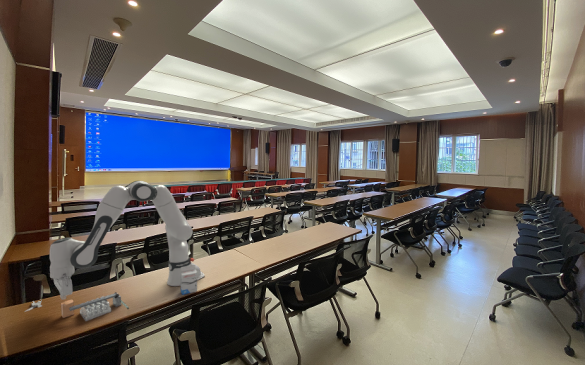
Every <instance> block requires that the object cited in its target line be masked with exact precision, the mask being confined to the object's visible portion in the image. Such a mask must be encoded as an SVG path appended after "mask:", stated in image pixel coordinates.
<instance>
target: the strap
mask: <svg viewBox="0 0 585 365" xmlns="http://www.w3.org/2000/svg"><path fill="white" fill-rule="evenodd" d="M119 295H120V294H119V293H118V292H116V291H115V292H114V293H112V294H108V295H105V296H103V297H102V296H100V297H97V298H98V299H96V298H95V299H91V300H92V301H91V300H87V301H88V302H87V301H86V302H82V304H81V303H80V304H74V306H72V307H69V310H70V311H72V310H74V311H75V310H78V309H81V307H85V306H86V307H87V306H88V305H92V304H94V303H97V302H100V301H104V300H107V301H108V300H109V299H113V297H116V296H117V297H119Z"/></svg>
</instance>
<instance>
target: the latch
mask: <svg viewBox="0 0 585 365" xmlns="http://www.w3.org/2000/svg"><path fill="white" fill-rule="evenodd" d="M60 305H61V306H60V307H61V316H62V319H64V318H67V317H71V316H73V315H75V310H72V311H70V310H69V307H72V306H75V304H74V300H73V299H72V298H71V299H69V300H65V301H63V302H61V303H60Z"/></svg>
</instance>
